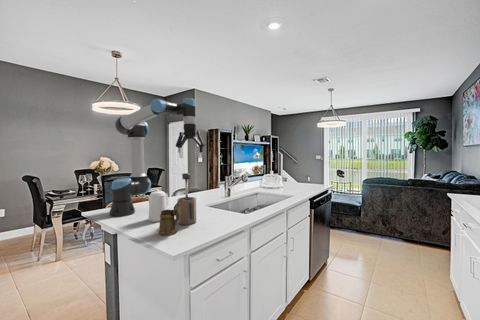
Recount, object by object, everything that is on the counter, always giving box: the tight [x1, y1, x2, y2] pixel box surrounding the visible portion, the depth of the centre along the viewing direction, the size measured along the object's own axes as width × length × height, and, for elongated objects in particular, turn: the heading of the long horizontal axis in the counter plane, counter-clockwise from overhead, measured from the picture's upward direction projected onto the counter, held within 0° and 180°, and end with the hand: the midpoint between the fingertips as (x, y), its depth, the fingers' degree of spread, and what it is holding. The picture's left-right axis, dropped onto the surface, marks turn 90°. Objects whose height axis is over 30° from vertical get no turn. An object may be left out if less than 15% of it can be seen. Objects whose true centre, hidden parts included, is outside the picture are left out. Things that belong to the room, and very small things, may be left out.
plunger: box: [181, 172, 191, 200], centre depth 134 cm, size 6×6×18 cm
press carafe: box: [176, 196, 197, 226], centre depth 134 cm, size 12×10×14 cm
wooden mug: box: [157, 199, 183, 237], centre depth 117 cm, size 9×14×18 cm, turn 73°
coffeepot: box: [144, 188, 169, 223], centre depth 141 cm, size 11×25×19 cm, turn 168°
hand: (190, 158), depth 145 cm, fingers open, 13 cm apart
